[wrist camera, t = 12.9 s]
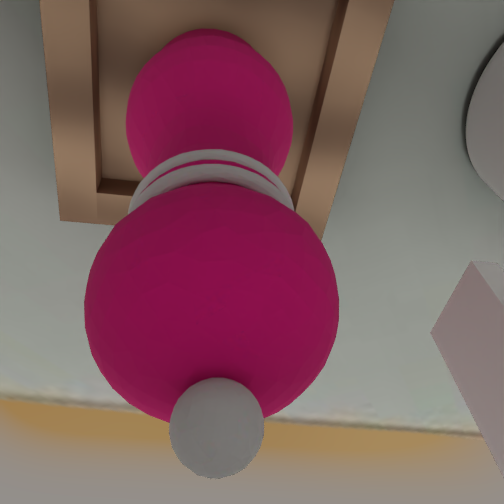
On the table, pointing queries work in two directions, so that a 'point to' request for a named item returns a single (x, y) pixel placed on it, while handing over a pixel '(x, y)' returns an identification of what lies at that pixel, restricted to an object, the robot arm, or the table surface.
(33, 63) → the table surface
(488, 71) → the cylinder vase
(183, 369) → the pepper mill
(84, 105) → the walnut holder
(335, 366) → the table surface
